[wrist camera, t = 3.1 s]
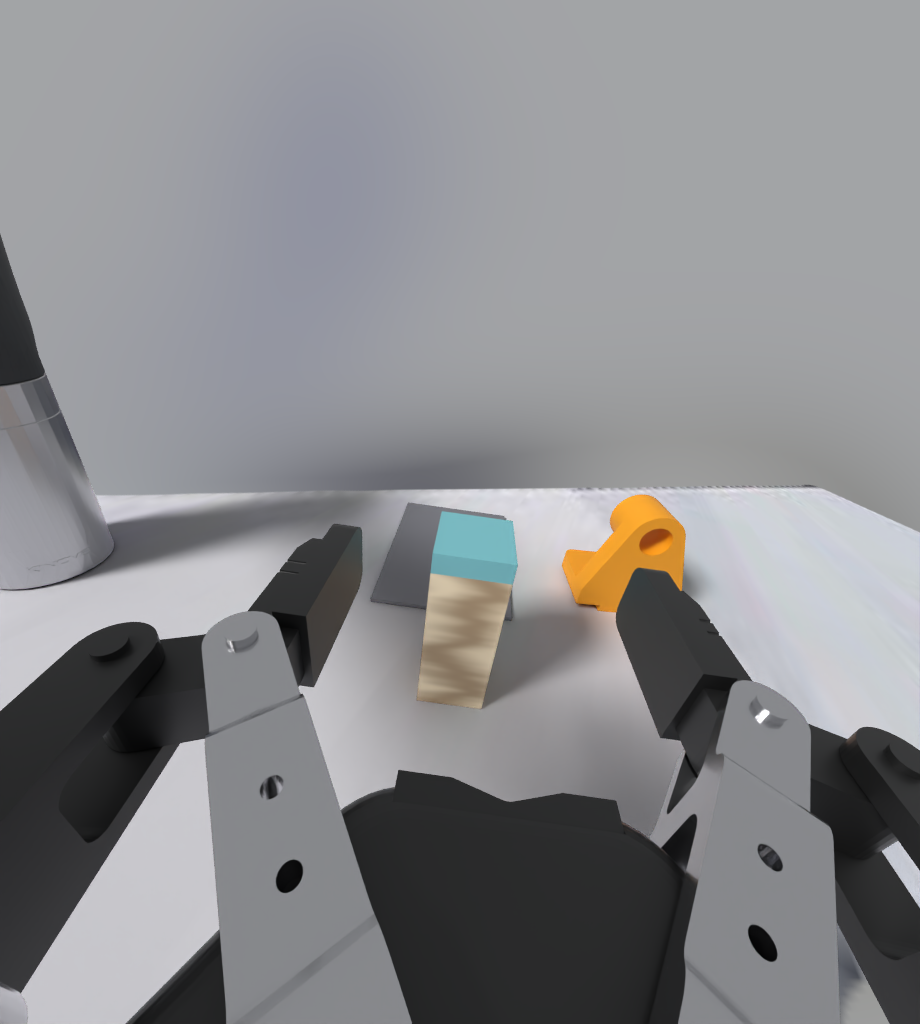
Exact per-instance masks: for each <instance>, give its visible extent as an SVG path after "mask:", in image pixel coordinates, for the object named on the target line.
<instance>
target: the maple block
mask: <svg viewBox="0 0 920 1024" xmlns="http://www.w3.org/2000/svg"><path fill="white" fill-rule="evenodd" d="M517 566H518V564H517V555H516V546H515V537H514V528H513V521H508V520H501V519H494V518H487V517H480V516H473V515H466V514H459V513H451V512H444V511H442V513H441V517H440V522H439V526H438V531H437V536H436V540H435V545H434V549H433V555H432V564H431V573H430V582H429V591H428V601H427V610H426V619H425V628H424V637H423V646H422V655H421V665H420V674H419V683H418V692H417V700H419V701H426V702H433V703H440V704H448V705H455V706H462V707H469V708H477V709H481V708H482V704H483V700H484V696H485V692H486V688H487V684H488V680H489V676H490V672H491V668H492V664H493V660H494V656H495V652H496V649H497V645H498V641H499V637H500V633H501V629H502V625H503V621H504V617H505V613H506V609H507V605H508V601H509V597H510V593H511V589H512V585H513V581H514V577H515V574H516V570H517Z"/></svg>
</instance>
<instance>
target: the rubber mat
mask: <svg viewBox="0 0 920 1024" xmlns="http://www.w3.org/2000/svg"><path fill="white" fill-rule="evenodd" d="M442 511H444V512H451V513H459V514H466V515H473V516H480V517H487V518H494V519H501V520H504V516H500V515H493V514H485V513H478V512H471V511H464V510H457V509H450V508H443V507H436V506H429V505H422V504H414V503H408V505H407V507H406V510H405V512H404V515H403V517H402V520H401V523H400V525H399V528H398V530H397V533H396V535H395V538H394V540H393V543H392V546H391V548H390V551H389V553H388V556H387V558H386V561H385V563H384V566H383V569H382V571H381V574H380V576H379V579H378V581H377V584H376V586H375V589H374V592H373V594H372V597H371V601H373V602H380V603H387V604H394V605H401V606H408V607H416V608H423V609H427V601H428V591H429V582H430V573H431V564H432V555H433V549H434V545H435V540H436V536H437V531H438V526H439V522H440V517H441V513H442ZM511 619H512V613H511V600H510V597H509V601H508V605H507V609H506V613H505V617H504V620H509V621H511Z"/></svg>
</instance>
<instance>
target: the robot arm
mask: <svg viewBox="0 0 920 1024" xmlns="http://www.w3.org/2000/svg"><path fill="white" fill-rule="evenodd" d="M113 549H114V541H113V539H112V536H111V534H110V531H109V529H108V526H107V524H106V521H105V519H104V516H103V514H102V511H101V508H100V505H99V503H98V501H97V498H96V496H95V493H94V491H93V488H92V486H91V483H90V481H89V478H88V476H87V474H86V471H85V469H84V466H83V464H82V461H81V459H80V456H79V454H78V451H77V449H76V446H75V444H74V441H73V439H72V436H71V434H70V431H69V429H68V426H67V424H66V422H65V419H64V416H63V414H62V412H61V410H60V408H59V405H58V402H57V400H56V397H55V395H54V392H53V390H52V388H51V385H50V383H49V380H48V378H47V375H46V373H45V370H44V368H43V365H42V363H41V360H40V358H39V355H38V351H37V348H36V343H35V339H34V334H33V330H32V326H31V323H30V320H29V317H28V314H27V312H26V309H25V306H24V303H23V301H22V298H21V296H20V293H19V290H18V287H17V284H16V281H15V278H14V275H13V273H12V269H11V266H10V263H9V260H8V257H7V254H6V251H5V248H4V245H3V242H2V238H1V235H0V589H10V590H12V589H27V588H33V587H40V586H44V585H48V584H53V583H57V582H60V581H63V580H66V579H69V578H72V577H74V576H77V575H79V574H81V573H84V572H86V571H88V570H89V569H91V568H93V567H95V566H96V565H98V564H99V563H101V562H102V561H104V560H105V559H106V558H107V557H108V556H109V555H110V554H111V552H112V551H113ZM361 577H362V530H361V528H360V527H354V526H347V525H340V524H333V525H332V527H331V528H330V529H329V531H328V532H327V534H326V535H325V536H324V538H323V539H315V538H312V539H311V540H309V541H307V542H306V543H304V544H302V545H301V546H299V547H297V549H296V550H295V551H294V552H293V554H292V555H291V556H290V558H289V559H288V562H286V563H285V564H284V565H283V567H282V568H281V569H280V572H279V573H277V574H276V575H275V577H274V578H273V579H272V581H271V582H270V583H269V584H268V586H267V587H266V588H265V590H264V591H263V592H262V593H261V595H260V596H259V597H258V598H257V600H256V601H255V602H254V604H253V605H252V606H251V607H250V609H249V610H248V611H247V612H242V613H237V614H234V615H232V616H229V617H227V618H225V619H223V620H221V621H220V622H218V623H217V624H216V625H214V626H213V627H212V628H211V629H210V630H209V631H208V632H207V634H204V635H198V636H189V637H181V638H172V639H163V640H160V639H159V637H158V634H157V632H156V630H155V629H154V627H152V626H151V625H149V624H146V623H141V622H127V623H121V624H116V625H112V626H109V627H106V628H103V629H101V630H99V631H96V632H94V633H92V634H90V635H89V636H87V637H85V638H84V639H82V640H81V641H79V642H78V643H77V644H75V645H74V646H73V647H72V648H71V649H70V650H68V651H67V652H66V653H65V654H64V655H63V656H62V657H61V658H59V659H58V660H57V661H56V662H55V663H54V664H53V665H52V666H50V667H49V668H48V669H47V670H46V671H45V672H44V673H43V674H41V675H40V676H39V677H38V678H37V679H36V680H35V681H34V682H33V683H31V684H30V685H29V686H28V687H27V688H26V689H25V690H24V691H22V692H21V693H20V694H19V695H18V696H17V697H16V698H15V699H13V700H12V701H11V702H10V703H9V704H8V705H7V706H6V707H4V708H3V709H2V710H1V711H0V1024H27V1021H28V1011H27V1005H26V1002H25V999H24V997H23V996H22V995H21V994H20V993H21V992H22V990H23V989H24V987H25V986H26V984H27V983H28V981H29V979H30V978H31V976H32V975H33V973H34V972H35V970H36V968H37V967H38V965H39V964H40V962H41V961H42V959H43V957H44V956H45V954H46V953H47V951H48V950H49V948H50V946H51V945H52V943H53V942H54V940H55V939H56V937H57V935H58V934H59V932H60V931H61V929H62V928H63V926H64V924H65V923H66V921H67V920H68V918H69V917H70V915H71V913H72V912H73V910H74V909H75V907H76V906H77V904H78V902H79V901H80V899H81V898H82V896H83V895H84V893H85V892H86V890H87V888H88V887H89V885H90V884H91V882H92V881H93V879H94V877H95V876H96V874H97V873H98V871H99V870H100V868H101V866H102V865H103V863H104V862H105V860H106V859H107V857H108V855H109V854H110V852H111V851H112V849H113V848H114V846H115V844H116V843H117V841H118V840H119V838H120V837H121V835H122V833H123V832H124V830H125V829H126V827H127V826H128V824H129V822H130V821H131V819H132V818H133V816H134V815H135V813H136V811H137V810H138V808H139V807H140V805H141V804H142V802H143V800H144V799H145V797H146V796H147V794H148V793H149V791H150V790H151V788H152V786H153V785H154V783H155V782H156V780H157V779H158V777H159V775H160V774H161V772H162V771H163V769H164V768H165V766H166V764H167V763H168V761H169V760H170V758H171V757H172V755H173V753H174V752H175V750H176V749H177V747H178V746H179V744H180V743H183V742H188V741H194V740H199V739H205V756H206V768H207V781H208V793H209V805H210V817H211V830H212V842H213V854H214V866H215V879H216V891H217V903H218V916H219V928H220V929H219V930H218V931H217V932H216V933H215V934H214V935H213V936H212V937H211V938H210V939H209V940H208V941H207V942H206V943H205V944H204V945H203V946H202V947H201V948H200V949H199V950H198V951H197V953H196V954H195V955H194V956H193V957H192V958H191V959H190V960H189V961H188V962H187V963H186V964H185V965H184V966H183V967H182V968H181V969H180V970H179V971H178V972H177V973H176V974H175V975H174V976H173V977H172V978H171V979H170V980H169V981H168V982H167V983H166V984H165V985H164V986H163V987H162V988H161V989H160V990H159V991H158V992H157V993H156V994H155V995H154V996H153V997H152V998H151V999H150V1000H149V1001H148V1002H147V1003H146V1004H145V1005H144V1006H143V1007H142V1008H141V1009H140V1010H139V1011H138V1012H137V1013H136V1014H135V1015H134V1016H133V1017H132V1018H131V1019H130V1020H129V1021H128V1022H127V1023H126V1024H840V998H839V972H838V946H837V923H838V925H839V927H840V929H841V931H842V933H843V935H844V937H845V939H846V941H847V942H848V944H849V946H850V948H851V950H852V952H853V954H854V956H855V958H856V960H857V962H858V964H859V966H860V967H861V969H862V971H863V973H864V975H865V977H866V979H867V981H868V983H869V985H870V987H871V989H872V990H873V992H874V994H875V996H876V998H877V1000H878V1002H879V1004H880V1006H881V1008H882V1009H883V1011H884V1013H885V1015H886V1017H887V1019H888V1021H889V1023H890V1024H920V908H919V906H918V905H917V903H916V902H915V900H914V899H913V897H912V896H911V894H910V893H909V891H908V890H907V888H906V887H905V885H904V884H903V882H902V881H901V879H900V878H899V876H898V875H897V874H896V872H895V871H894V869H893V868H892V866H891V865H890V863H889V862H888V860H887V859H886V857H885V856H884V854H883V853H882V850H884V849H885V848H887V847H889V846H890V845H892V844H893V843H895V842H897V841H899V842H900V843H901V845H902V846H903V848H904V849H905V850H906V852H907V853H908V855H909V856H910V857H911V859H912V860H913V862H914V863H915V864H916V866H917V867H918V869H919V870H920V750H918V749H917V748H915V747H914V746H912V745H911V744H909V743H908V742H906V741H904V740H903V739H901V738H899V737H897V736H895V735H893V734H891V733H889V732H886V731H884V730H881V729H877V728H873V727H862V728H860V729H858V730H857V731H856V732H855V733H854V734H853V735H852V736H851V737H850V738H848V739H845V738H843V737H840V736H838V735H835V734H833V733H830V732H828V731H825V730H823V729H820V728H818V727H815V726H812V725H810V724H808V723H807V721H806V719H805V718H804V716H803V715H802V714H801V713H800V711H799V710H798V709H797V708H796V707H795V706H794V705H793V704H792V703H791V702H790V701H788V700H787V699H786V698H785V697H783V696H782V695H780V694H779V693H778V692H776V691H774V690H773V689H771V688H769V687H767V686H765V685H762V684H760V683H757V682H753V681H752V680H751V678H750V677H749V676H748V674H747V673H746V671H745V670H744V668H743V667H742V665H741V664H740V663H739V661H738V660H737V658H736V657H735V655H734V654H733V652H732V651H731V650H730V648H729V647H728V645H727V644H726V642H725V641H724V639H723V638H722V637H721V636H719V632H718V631H717V629H716V628H715V626H714V625H713V624H712V623H710V619H709V618H708V616H707V615H706V613H705V612H704V611H703V609H702V608H701V606H700V605H699V604H698V603H697V602H695V601H694V600H693V599H692V598H691V597H690V596H688V595H687V594H686V593H685V592H684V591H680V590H679V588H678V587H677V585H676V584H675V582H674V581H673V579H672V578H671V576H670V575H669V573H667V572H666V571H660V570H653V569H646V568H637V569H635V570H634V572H633V573H632V576H631V578H630V580H629V582H628V585H627V587H626V589H625V591H624V594H623V596H622V598H621V600H620V603H619V605H618V608H617V612H616V624H617V628H618V631H619V634H620V636H621V639H622V641H623V644H624V646H625V649H626V651H627V654H628V657H629V659H630V662H631V664H632V667H633V669H634V672H635V674H636V677H637V679H638V682H639V685H640V687H641V690H642V692H643V695H644V697H645V700H646V702H647V705H648V708H649V710H650V713H651V715H652V718H653V720H654V723H655V725H656V728H657V731H658V733H659V736H660V738H666V739H673V740H680V741H681V742H682V745H683V747H684V750H683V751H682V753H681V754H680V756H679V758H678V761H677V764H676V767H675V770H674V773H673V776H672V779H671V782H670V785H669V788H668V791H667V794H666V797H665V800H664V803H663V806H662V809H661V812H660V815H659V818H658V821H657V823H656V825H655V828H654V830H653V832H652V833H651V835H650V837H649V838H647V837H646V836H645V835H643V834H642V833H641V832H639V831H637V830H635V829H634V828H632V827H630V826H629V825H627V824H625V823H623V822H621V818H620V814H619V810H618V806H617V802H616V801H615V800H608V799H601V798H593V797H586V796H579V795H572V794H565V793H561V794H555V795H549V796H543V797H538V798H532V799H526V800H521V801H515V802H507V801H503V800H501V799H499V798H496V797H494V796H492V795H490V794H487V793H485V792H483V791H481V790H479V789H476V788H474V787H472V786H470V785H467V784H465V783H463V782H461V781H459V780H456V779H454V778H452V777H445V776H438V775H431V774H424V773H416V772H409V771H402V770H398V775H397V780H396V785H395V787H393V788H388V789H383V790H380V791H377V792H373V793H370V794H368V795H366V796H364V797H362V798H360V799H357V800H356V801H354V802H352V803H351V804H349V805H348V806H346V807H344V808H343V809H342V810H340V806H339V803H338V800H337V797H336V794H335V791H334V788H333V784H332V781H331V778H330V775H329V772H328V769H327V766H326V762H325V759H324V756H323V753H322V750H321V747H320V743H319V740H318V737H317V734H316V731H315V728H314V725H313V721H312V718H311V715H310V712H309V709H308V706H307V703H306V700H305V698H304V695H303V694H300V692H299V689H298V687H299V685H301V686H308V687H314V686H315V684H316V682H317V679H318V677H319V675H320V673H321V671H322V668H323V666H324V664H325V662H326V660H327V657H328V655H329V653H330V651H331V649H332V647H333V644H334V642H335V640H336V638H337V636H338V633H339V631H340V629H341V627H342V625H343V622H344V620H345V618H346V616H347V614H348V611H349V609H350V607H351V605H352V603H353V600H354V598H355V596H356V594H357V592H358V589H359V586H360V582H361Z"/></svg>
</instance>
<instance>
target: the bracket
mask: <svg viewBox="0 0 920 1024" xmlns="http://www.w3.org/2000/svg"><path fill="white" fill-rule="evenodd" d="M610 525H611V528H612V530H613V531H614V533H613V534H612V535H611V536H610V537H609V538H608V540H607V541H606V542H605V543H604V544H603V545H602V546H601V548H600V549H599V550H598V551H597V552H591V551H582V550H567V551H566V554H565V557H564V560H563V563H562V567H563V570H564V572H565V575H566V578H567V580H568V583H569V585H570V588H571V591H572V593H573V596H574V599H575V601H576V603H579V604H590V605H596V608H597V610H598V611H606V612H617V608H618V605H619V603H620V600H621V598H622V596H623V594H624V591H625V589H626V587H627V585H628V582H629V580H630V578H631V576H632V573H633V572H634V570H635V569H637V568H646V569H653V570H660V571H666V572H667V573H669V575H670V576H671V578H672V579H673V581H674V582H675V584H676V585H677V587H678V588H679V590H680V591H682V580H683V566H684V552H685V537H686V534H685V530H684V528H683V526H682V525H681V524H680V523H679V522H678V521H677V520H676V519H675V518H674V517H673V516H672V515H671V513H670V512H669V511H668V510H667V509H666V508H665V507H664V506H663V505H662V504H661V503H660V502H659V501H658V500H657V499H656V498H654V497H652V496H649V495H635V496H632V497H629V498H627V499H625V500H623V501H622V502H621V503H619V504H618V505H617V506H616V508H615V509H614V511H613V512H612V515H611V518H610Z"/></svg>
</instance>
